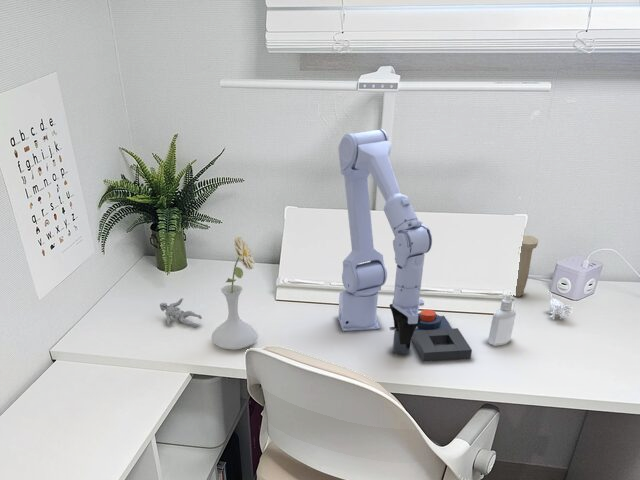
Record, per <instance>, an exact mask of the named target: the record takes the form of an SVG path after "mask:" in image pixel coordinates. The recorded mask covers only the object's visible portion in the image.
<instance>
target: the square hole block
mask: <svg viewBox="0 0 640 480" xmlns="http://www.w3.org/2000/svg"><path fill="white" fill-rule="evenodd" d="M411 343H413V346H414V347H415V349H416V351H417V353H418V355H419V357H420V359H421V362H422V363H428V362H429V363H431V362H448V361H462V360H471V359H472V358H471V357H472V352H473V349H472V348H471V346H470V345H469V343H468V341H467V340H466V339H465V337H464V336H463V334H462V332H461V331H460V330H459V328H458V327H457V328H455V327H454V328H453V327H452V329H436V330H418V331H414V333H413V335H412V338H411Z"/></svg>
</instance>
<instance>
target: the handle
mask: <svg viewBox="0 0 640 480" xmlns="http://www.w3.org/2000/svg"><path fill="white" fill-rule="evenodd" d="M522 236H523V241H522V246H521V253H520V262H519V270H518V279H517V286H516V297H517V298H520V297H521V296H523V295H524V293H525V288H526V285H527V282H528V279H529V275H530V274H529V273H530V268H531V261H532V260H531V259H532V255H533V250H534V249H537V247H538V243H539V240H538V238H537V237H536V236H533V235H522Z"/></svg>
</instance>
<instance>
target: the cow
mask: <svg viewBox="0 0 640 480" xmlns="http://www.w3.org/2000/svg"><path fill="white" fill-rule="evenodd" d="M549 293H550V297H551V299H550V300H549V307H550V308H549V311H548V314H551V315H550V316H549V318H552V320H555V319H556V318H555V317H556V315H559V316H560V317H559V320H562V318H566V317H571V315H570V314H571V313H572V311H570V310H572V309H573V306H572V304H571V303H570V304H564V303H563V302H562V301H560V300H559V299H557V298H553V294H552V291H551V290H549Z"/></svg>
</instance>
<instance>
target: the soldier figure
mask: <svg viewBox="0 0 640 480" xmlns="http://www.w3.org/2000/svg"><path fill="white" fill-rule="evenodd" d="M183 301H184V298H183V297H182V298H180V299H179V300H178V301H176V302H173V303H170V304H169V305H168V303H167V302H161V303H159V308H160V310H161V311H162V312H164V311H165V313H164V314H165V317H166V321H167V322H166V323H167V325H168V326H170V324H171V322H172V319H175V320H177V321H178V322H181V323H182V324H184V325H185V326H193V327H194V328H197V327H198V323H195V322H192V321H190V320H188V319H187V318H189V317H195V318H198V320H199V319H200V320H202V319H203V317H202V315H201V314H198V313H196V312H194V311H193V310H186V311H184V310H181V308H180V307H179V306H180V305H181V304H182V303H183ZM171 318H172V319H171Z"/></svg>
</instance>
